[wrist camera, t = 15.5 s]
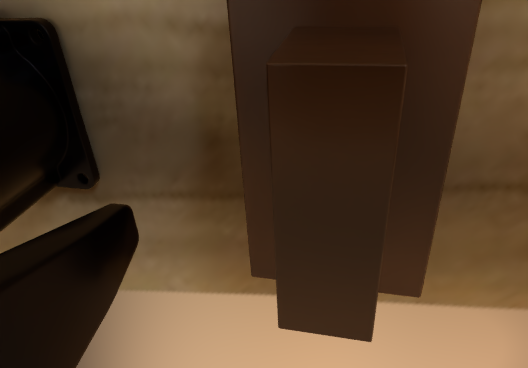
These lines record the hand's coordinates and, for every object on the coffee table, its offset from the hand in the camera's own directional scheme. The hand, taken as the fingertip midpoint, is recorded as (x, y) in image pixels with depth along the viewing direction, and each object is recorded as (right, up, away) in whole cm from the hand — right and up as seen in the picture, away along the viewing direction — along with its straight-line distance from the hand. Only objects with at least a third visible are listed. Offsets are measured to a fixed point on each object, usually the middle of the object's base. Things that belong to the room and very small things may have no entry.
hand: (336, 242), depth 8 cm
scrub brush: (+1, +3, +5) cm, 6 cm away
